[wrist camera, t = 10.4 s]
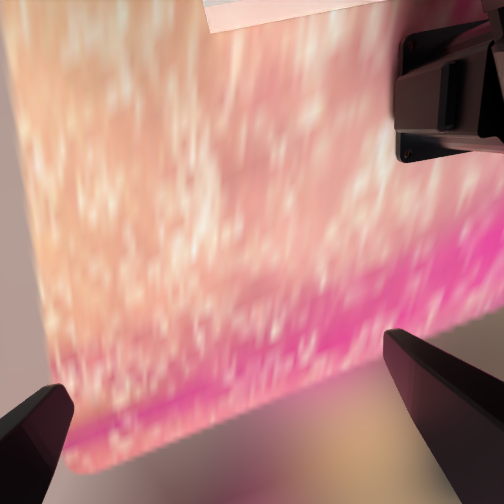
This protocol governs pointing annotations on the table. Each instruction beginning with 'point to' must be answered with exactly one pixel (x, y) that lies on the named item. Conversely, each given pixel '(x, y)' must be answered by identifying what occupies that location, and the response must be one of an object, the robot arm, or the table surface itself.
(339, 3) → the socket block
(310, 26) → the table surface
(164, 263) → the table surface
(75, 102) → the table surface
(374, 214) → the table surface
